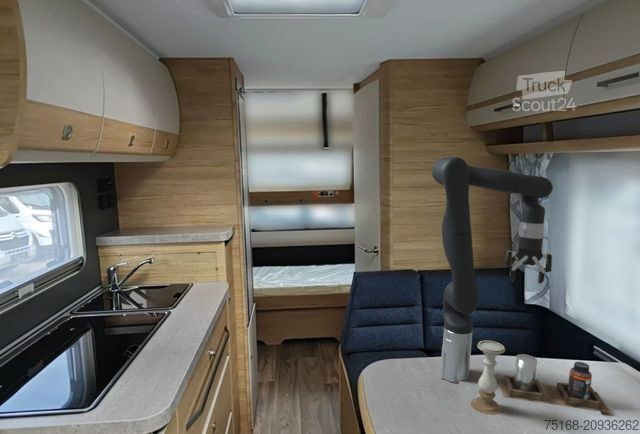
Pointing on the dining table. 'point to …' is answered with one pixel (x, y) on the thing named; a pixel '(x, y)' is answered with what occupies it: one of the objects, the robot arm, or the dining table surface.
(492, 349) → the candle holder
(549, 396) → the wooden divided tray
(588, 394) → the supplement bottle
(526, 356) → the can
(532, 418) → the dining table surface
